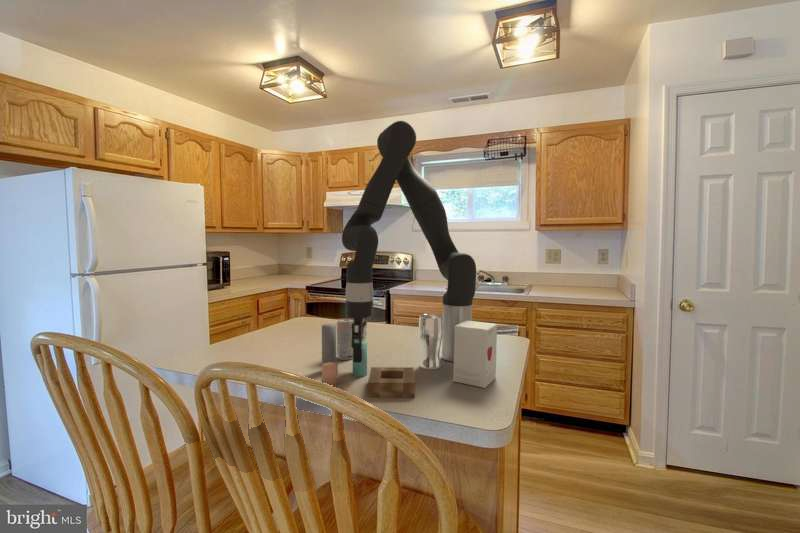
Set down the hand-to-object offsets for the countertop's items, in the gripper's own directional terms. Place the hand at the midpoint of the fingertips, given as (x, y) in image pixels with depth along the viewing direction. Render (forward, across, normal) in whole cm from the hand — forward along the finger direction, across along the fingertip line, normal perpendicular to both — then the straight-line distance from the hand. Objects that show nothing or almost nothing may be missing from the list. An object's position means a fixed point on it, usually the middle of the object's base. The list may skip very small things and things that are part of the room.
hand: (359, 357), depth 104 cm
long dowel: (+5, +3, +9) cm, 10 cm away
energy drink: (+5, +15, +6) cm, 17 cm away
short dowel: (+5, -7, +7) cm, 11 cm away
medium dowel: (+5, 0, 0) cm, 5 cm away
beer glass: (+5, +7, -20) cm, 22 cm away
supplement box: (+5, -4, -31) cm, 32 cm away
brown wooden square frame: (+5, -10, -9) cm, 14 cm away
